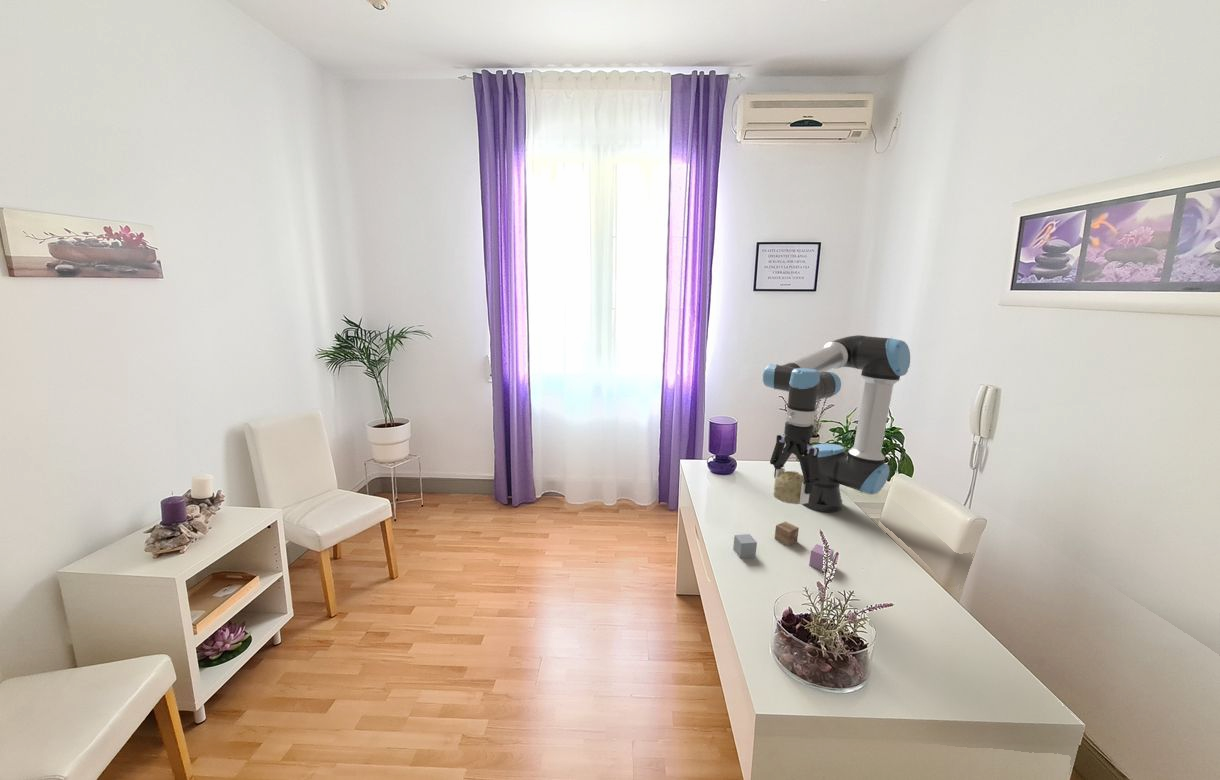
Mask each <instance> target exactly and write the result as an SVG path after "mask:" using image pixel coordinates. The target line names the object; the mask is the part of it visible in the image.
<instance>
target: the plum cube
mask: <svg viewBox="0 0 1220 780" xmlns="http://www.w3.org/2000/svg"><path fill="white" fill-rule="evenodd" d="M828 548H829V547H828ZM829 549H830V561H832V562H833V560H832V559H834V558H833V557H834V551H835V550H834V549H832V548H829ZM823 557H824V551H823V545H821V544H818V543H816V544H815V545H814V546H813V548H812V549H811V550H810V557H809V563H808V566H809V567H812V568H815V569H817V568H818V569H817V570H821V571H822V568H823Z"/></svg>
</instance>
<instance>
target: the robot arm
mask: <svg viewBox="0 0 1220 780" xmlns="http://www.w3.org/2000/svg"><path fill="white" fill-rule="evenodd" d="M910 364H911V351H910V348H909V345H908V344H907V342H906V341H904V340H901V339H896V338H892V337H890V338H888V337H880V336H879V337H877V336H868V335H867V336H866V335H860V334H859V335H857V334H856V335H849V336H846V337H845V336H844V337H840V338H838V339H835V340H832V341H830V342H827V343H826V344H824V345H823V347H822V348H819V350H816V351H814V352H812V353H809V354H807V355H803V356H802V357H799V358H797V359H795V360H793V361H790V362H788V363H785V364H782V365H780V364H778V363H777V364H773V363H772V364H768V365H766V367H765V368H764V370H763V373H762V384H764V386H766V387H767V388H771V389H773V390H778V391H783V392H788V397H787V399H788V400H787V407H786V415H785V420H786V422H785V424H784V429H783V430H784V431H783V434H777V435H776V441H775V445H774V449H773V452H772V455H771V456H770V457H771V458H770V461H769V464H770V465H773V468H774V472H773V473H774V474H773V475H774V476H773V478H774V483H775V482H776V479H777V477H779V476H780V475H781V474H782V473H783V472H786V469H785V464H786V462H787V461H788V460H789V458H790V457H791V456H792V454H793V455H794V456H796V459H797V460H798V461H799V465H800V469H801V473H802V475H803V477H804V481H805V482H802V486H801V494H800V502H799V503H800V504H799V505H803V506H804V507H806V508H808V509H811V510H814V511H818V512H823V513H825V512H826V513H835V512H839V511H840V510H841V509H842V507H843V499H842V495H841V489H840V485H842V486H844V487H848V488H850V489H853V490H855V491H858V492H860V493H864V494H867V495H876V494H878V493H879V492H880V491H882V489H883V488H884V486H885V484H886V483H887V481H888V479H889V475H890V472H891V471H890V466H889V465H888V464H887V463H885V461H886V460H885V459H886V457H885V455H884V454H883V453H882V449H883V448H882V447H883V443H884V437H885V432H886V425H887V421H888V416H889V411H890V404H891V400H892V394H893V388H894V385H895V384H896V383H897V382H900V378H901V377H903V376H905V375H907V374H908V370H909V368H910V366H911V365H910ZM841 368H851V369H855V370H861V374H860V375H861V377H862V379H863V380H864V385H863V390H862V397H861V403H860V409H859V415H858V422H857V426H856V431H855V432H856V433H855V438H854V444H853V447H851V448H849V449H848V451H847V452H846V448H845V447H844V446H843V445H840V444H835V443H819V444H815V445H811V438H812V437H813V433H814V425H813V424H814V423H815V417H816V407H817V401H819V400H823V399H829V398H832V397H835V396H836V395H837V394H838V393H839V392H840V390H841V388H842V381H841V378H840V376H839V375H838V374H837V373H835V372H832V371H830V370H832V369H841ZM774 489H775V484H774V487H773V490H774Z"/></svg>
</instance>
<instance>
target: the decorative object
mask: <svg viewBox="0 0 1220 780" xmlns="http://www.w3.org/2000/svg"><path fill="white" fill-rule="evenodd" d="M802 482H805V481H804V477H803V474H801V473H799V472H798V471H795V470H791V471H787V470H785V472H783V473H782V474H781V475H780V476H779V477H777V479H776V482H775V481H774V485H775V489H774V488H773V490H774V491H773V494H772V495H773V497H774V498H775V500H776V499H777V500H779V501H780V502H782V503H785V504H792V505H801V504H800V503H799V502H800V494H801V486H802Z"/></svg>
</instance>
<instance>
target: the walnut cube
mask: <svg viewBox="0 0 1220 780" xmlns="http://www.w3.org/2000/svg"><path fill="white" fill-rule="evenodd" d="M799 529H800V527H798V526H796V525H794V524H792V523H790V522H788V521H784V522H780V523H778V524H776V525H775V532H774V540H775V539H776V540H775V541H777V540H778V542H779V541H780V542H779V543H781V542H782V543H781V544H783V543H784V544H783V545H785V544H786V545H785V546H787V545H789V546H791V545H793V544H795V543H797V542H798V540H799V539H798V538H799V537H798V536H799ZM792 543H793V544H792ZM790 544H791V545H790Z"/></svg>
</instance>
